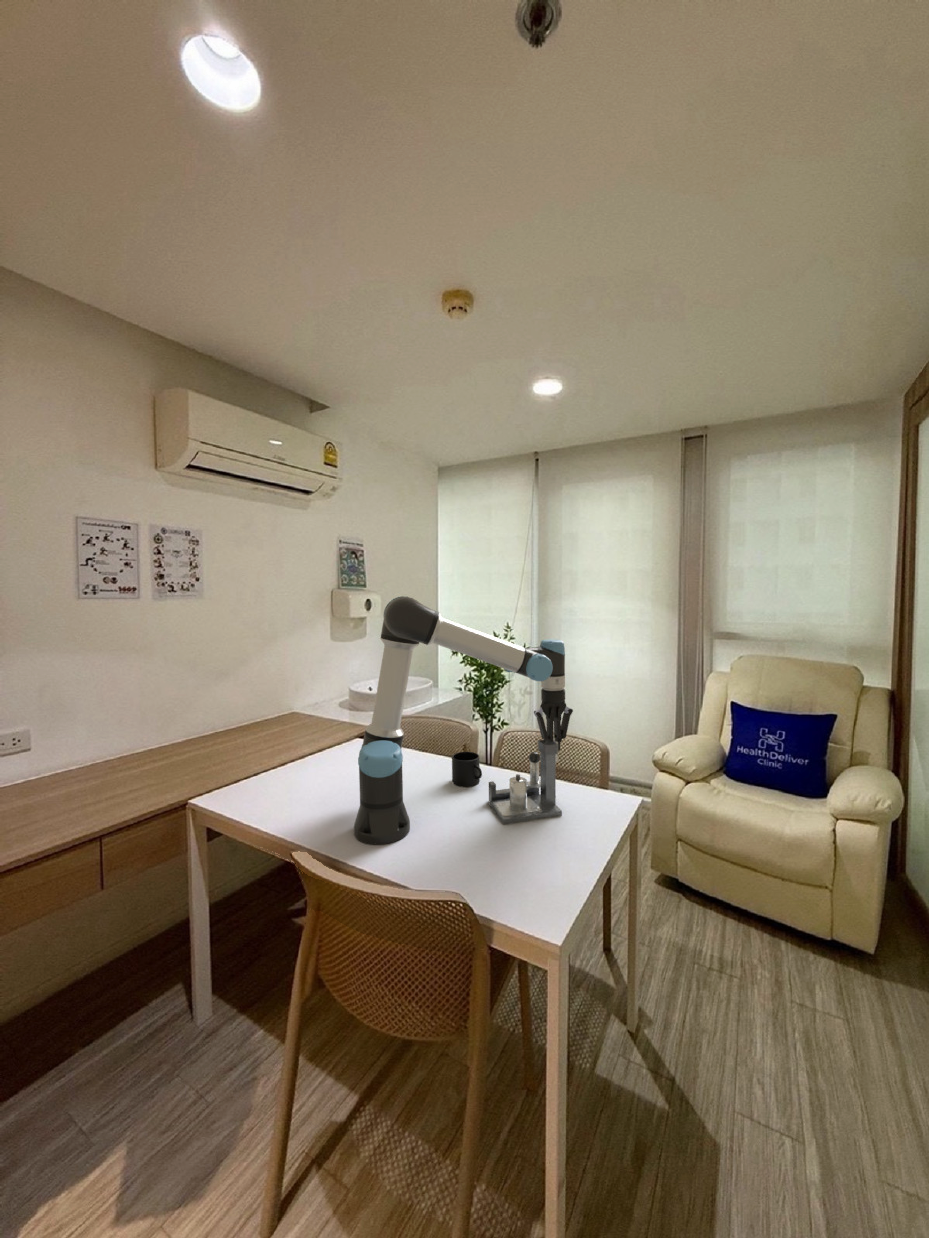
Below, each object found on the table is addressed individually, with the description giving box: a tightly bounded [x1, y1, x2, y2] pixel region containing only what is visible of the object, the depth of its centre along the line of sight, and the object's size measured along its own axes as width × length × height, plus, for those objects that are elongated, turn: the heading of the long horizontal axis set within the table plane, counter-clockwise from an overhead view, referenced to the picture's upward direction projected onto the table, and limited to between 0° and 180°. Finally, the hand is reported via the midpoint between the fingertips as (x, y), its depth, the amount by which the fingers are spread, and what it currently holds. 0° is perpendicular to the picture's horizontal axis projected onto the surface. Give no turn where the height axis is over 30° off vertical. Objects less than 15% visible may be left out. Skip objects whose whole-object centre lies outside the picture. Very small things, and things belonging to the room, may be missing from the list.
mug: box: [451, 751, 483, 788], centre depth 164 cm, size 9×12×9 cm
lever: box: [527, 751, 541, 789], centre depth 153 cm, size 4×4×11 cm
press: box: [488, 739, 563, 826], centre depth 144 cm, size 18×16×20 cm
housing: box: [509, 773, 528, 810], centre depth 142 cm, size 5×5×10 cm
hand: (554, 760), depth 154 cm, fingers closed
